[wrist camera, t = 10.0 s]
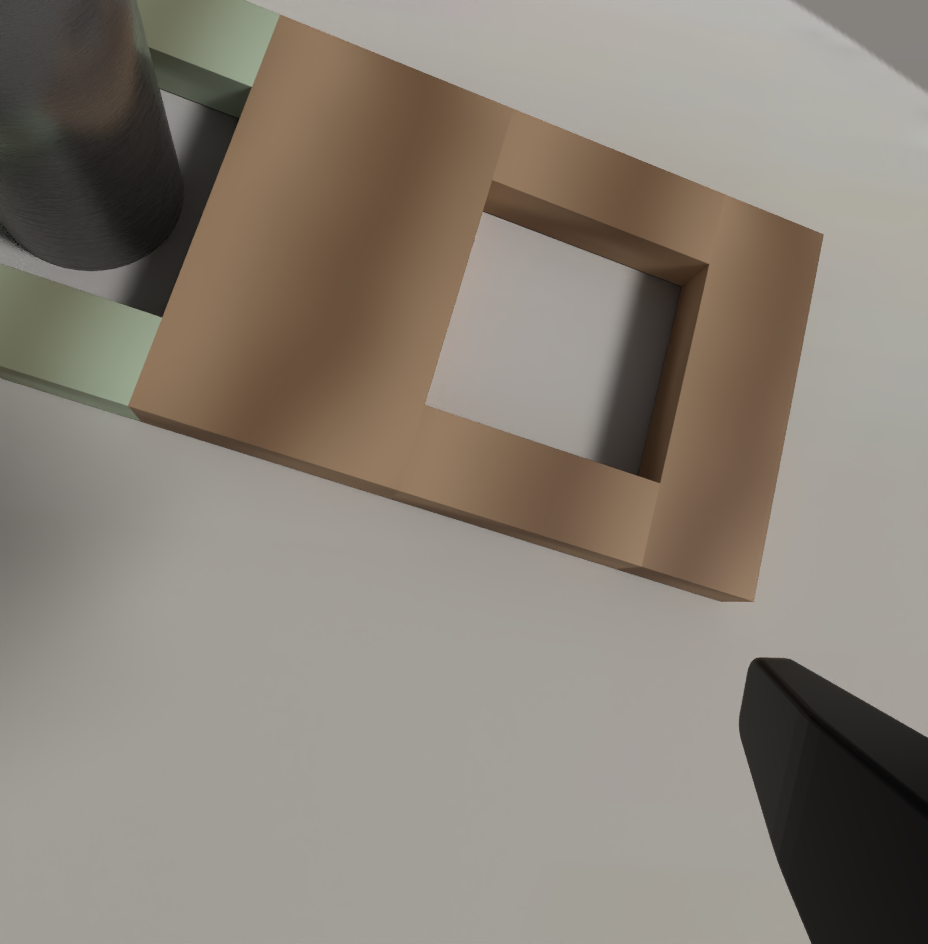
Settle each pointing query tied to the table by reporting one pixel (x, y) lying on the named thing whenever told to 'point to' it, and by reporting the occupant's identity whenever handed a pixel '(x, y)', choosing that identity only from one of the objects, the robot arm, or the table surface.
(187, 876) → the table surface
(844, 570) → the table surface
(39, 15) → the metal peg
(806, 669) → the robot arm
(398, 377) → the slotted peg board
